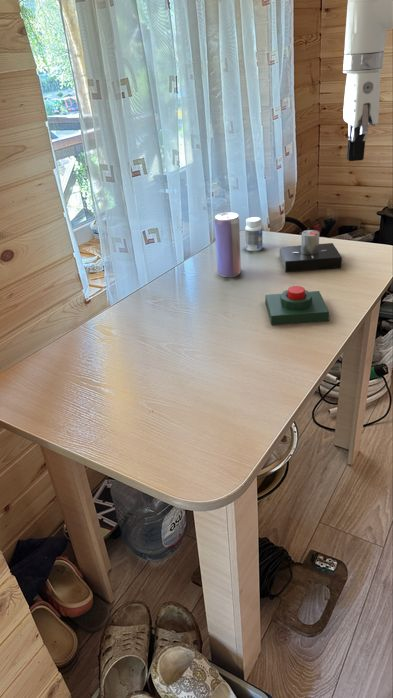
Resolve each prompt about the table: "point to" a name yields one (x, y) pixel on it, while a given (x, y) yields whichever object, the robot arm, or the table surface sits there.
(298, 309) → the button block
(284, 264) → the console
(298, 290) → the button
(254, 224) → the pill bottle
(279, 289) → the table surface
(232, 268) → the beverage can
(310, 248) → the knob
